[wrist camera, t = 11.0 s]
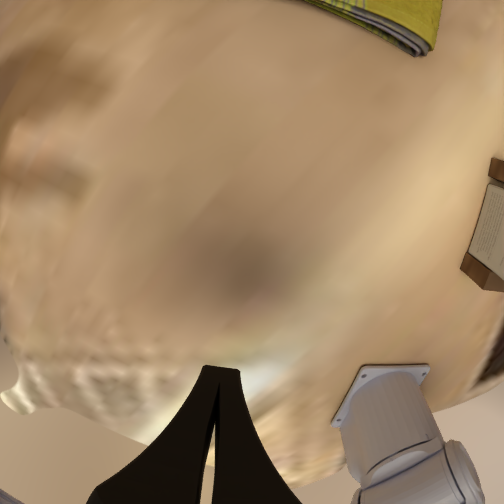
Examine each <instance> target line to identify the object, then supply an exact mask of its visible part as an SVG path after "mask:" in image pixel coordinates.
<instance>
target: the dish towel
mask: <svg viewBox="0 0 504 504" xmlns="http://www.w3.org/2000/svg"><path fill="white" fill-rule="evenodd" d="M305 1H307V2H310V3H312V4H314V5H317V6H319V7H321V8H324V9H326V10H328V11H330V12H332V13H335V14H337V15H339V16H341V17H343V18H345V19H348V20H350V21H352V22H354V23H356V24H358V25H360V26H362V27H364V28H366V29H367V30H369V31H371V32H373V33H374V34H376V35H378V36H380V37H382V38H383V39H385V40H387V41H389V42H390V43H392V44H394V45H396V46H397V47H398V48H400V49H401V50H403V51H405V52H407V53H409V54H411V55H412V56H414V57H418V56H419V55H421V56H426V55H427V52H428V51H433V50H434V46H435V42H436V37H437V31H438V27H439V20H440V16H441V9H442V1H443V0H305Z"/></svg>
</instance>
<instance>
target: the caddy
mask: <svg viewBox="0 0 504 504" xmlns="http://www.w3.org/2000/svg"><path fill="white" fill-rule="evenodd" d="M488 176H490V177H492V178H494V179H496V180H499V181H501V182H503V183H504V161H502V160H498V159H495V158H492V160H491V165H490V170H489V174H488ZM460 269H461V270H462V271H463V272H464V273H465V274H466V275H467V276H469V277H470V278H471V279H472V280H473V281H474V282H475V283H476V284H477V285H478V286H479V287H480V288H482V289H483V290H489V291H498V292H504V280H503V279H502V278H500V277H499V276H498V275H497V274H496V273H494V272H493V271H492V270H491V269H489V268H488V267H487V266H486V265H484V264H483V263H482V262H480V261H479V260H478V259H476V258H475V257H474V256H473V255H471V254H470V253H467V252H466V254H465V257H464V260H463V263H462V265H461V268H460Z"/></svg>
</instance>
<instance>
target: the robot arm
mask: <svg viewBox="0 0 504 504" xmlns="http://www.w3.org/2000/svg"><path fill="white" fill-rule="evenodd" d="M429 370H430V366H429V365H401V366H364V367H362V368H361V369H360V371H359V373H358V375H357V377H356V379H355V381H354V383H353V385H352V387H351V388H350V390H349V392H348V394H347V396H346V398H345V399H344V401H343V403H342V405H341V407H340V408H339V410H338V412H337V414H336V415H335V417H334V419H333V420H332V422H331V426H332V427H340V432H341V437H342V441H343V446H344V451H345V456H346V461H347V466H348V470H349V472H350V474H351V475H352V477H353V478H354V479H355V480H357V481H358V482H359V483H360V484H361V488H359V489H357V490H356V492H355V493H354V495H353V498H352V501H351V504H485V497H484V494H483V492H482V489H481V484H480V481H479V477H478V475H477V472H476V469H475V467H474V465H473V463H472V461H471V459H470V457H469V454H468V453H467V451H466V449H465V448H464V446H463V445H462V443H461V442H459V441H454V440H449V441H448V442H447V443H446V442H445V441H444V440H443V437H442V435H441V433H440V430H439V428H438V426H437V424H436V422H435V420H434V417H433V415H432V413H431V410H430V408H429V406H428V404H427V402H426V400H425V398H424V396H423V394H422V391H421V389H420V387H419V386H420V385H421V383H422V381H423V380H424V378H425V377H426V375H427V374H428V372H429ZM363 374H364V375H363ZM214 425H215V474H214V475H215V476H214V485H213V495H212V504H302V503H301V502H300V501H299V499H298V498H297V497H296V496H295V495H294V493H293V492H292V491H291V490H290V488H289V487H288V486H287V484H286V483H285V481H284V480H283V479H282V477H281V476H280V474H279V473H278V471H277V470H276V468H275V467H274V465H273V463H272V462H271V460H270V458H269V456H268V455H267V453H266V451H265V449H264V447H263V445H262V443H261V441H260V439H259V437H258V434H257V432H256V430H255V427H254V425H253V422H252V420H251V417H250V414H249V411H248V408H247V405H246V401H245V398H244V394H243V389H242V384H241V377H240V371H239V370H238V369H232V368H224V367H217V366H210V365H205V366H203V367H202V370H201V373H200V375H199V377H198V380H197V382H196V383H195V385H194V387H193V389H192V391H191V392H190V394H189V396H188V397H187V399H186V400H185V402H184V404H183V405H182V407H181V408H180V409H179V411H178V412H177V414H176V415H175V416H174V418H173V419H172V420H171V422H170V423H169V424H168V425H167V427H166V428H165V429H164V430H163V431H162V432H161V434H160V435H159V436H158V437H157V438H156V439H155V440H154V441H153V442H152V443H151V444H150V445H149V446H148V447H147V448H146V449H145V450H144V451H143V452H142V453H141V454H140V455H139V456H138V457H137V458H135V459H134V460H133V461H132V462H130V463H129V464H128V465H127V466H125V467H124V468H123V469H122V470H120V471H119V472H118V473H117V474H115V475H113V476H112V477H110V478H109V479H107V480H106V481H104V482H103V483H101V484H100V485H98V486H97V487H96V488H95V489H94V491H93V492H92V494H91V495H90V497H89V499H88V501H87V503H86V504H200V499H201V490H202V482H203V474H204V468H205V464H206V459H207V455H208V451H209V446H210V442H211V438H212V433H213V429H214ZM0 504H24V503H22V502H21V501H19V500H17V499H16V498H14V497H12V496H11V495H9V494H8V493H6V492H4V491H3V490H1V489H0Z"/></svg>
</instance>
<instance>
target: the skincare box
mask: <svg viewBox="0 0 504 504" xmlns="http://www.w3.org/2000/svg"><path fill="white" fill-rule="evenodd" d="M468 252H469V253H470V254H471V255H473V256H474V257H475V258H476V259H478V260H479V261H480V262H482V263H483V264H484V265H486V266H487V267H488V268H489V269H491V270H492V271H493V272H494V273H496V274H497V275H498V276H499V277H500V278H502V279H503V280H504V189H503V188H500V187H498V186H495V185H492V184H488V187H487V192H486V196H485V200H484V203H483V207H482V210H481V214H480V217H479V220H478V224H477V227H476V230H475V233H474V236H473V239H472V242H471V245H470V248H469V250H468Z"/></svg>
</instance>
